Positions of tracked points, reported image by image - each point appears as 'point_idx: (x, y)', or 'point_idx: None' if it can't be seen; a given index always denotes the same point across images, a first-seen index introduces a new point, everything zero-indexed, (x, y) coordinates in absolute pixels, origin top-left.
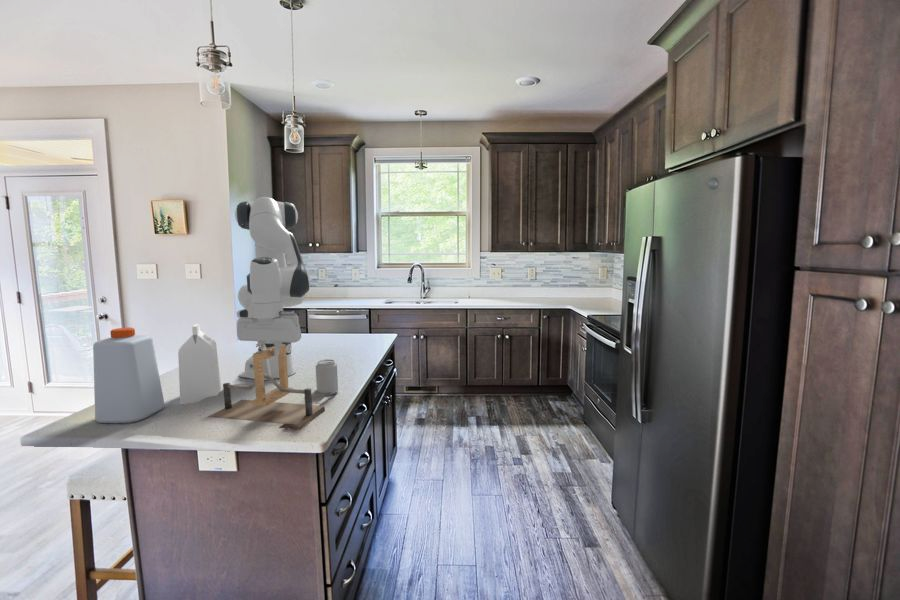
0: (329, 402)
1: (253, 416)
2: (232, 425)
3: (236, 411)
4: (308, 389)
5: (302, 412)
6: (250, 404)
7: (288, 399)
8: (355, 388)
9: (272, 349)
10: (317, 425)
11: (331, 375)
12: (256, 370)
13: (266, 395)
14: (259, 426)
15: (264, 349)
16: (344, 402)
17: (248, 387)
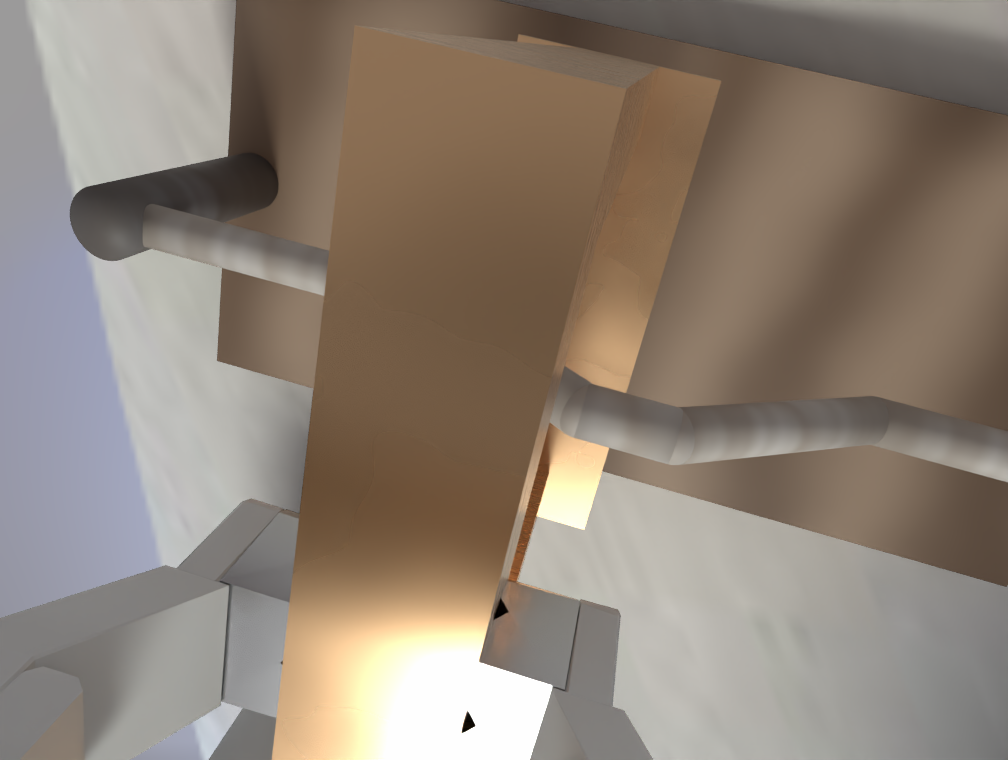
0: (271, 499)
1: (735, 153)
2: (913, 50)
3: (961, 293)
4: (94, 219)
5: (326, 230)
6: (875, 457)
7: (606, 599)
8: (209, 720)
9: (286, 661)
10: (157, 43)
11: (224, 743)
12: (584, 59)
13: (611, 267)
14: (632, 23)
15: (542, 737)
16: (169, 486)
17: (881, 404)
